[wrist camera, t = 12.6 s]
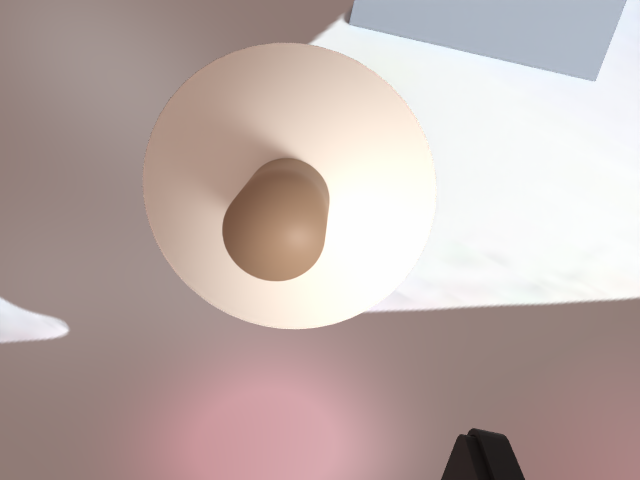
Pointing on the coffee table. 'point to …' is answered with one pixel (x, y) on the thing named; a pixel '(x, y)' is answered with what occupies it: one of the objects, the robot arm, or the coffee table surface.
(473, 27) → the mat
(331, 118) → the lid
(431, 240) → the coffee table surface
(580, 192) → the coffee table surface
